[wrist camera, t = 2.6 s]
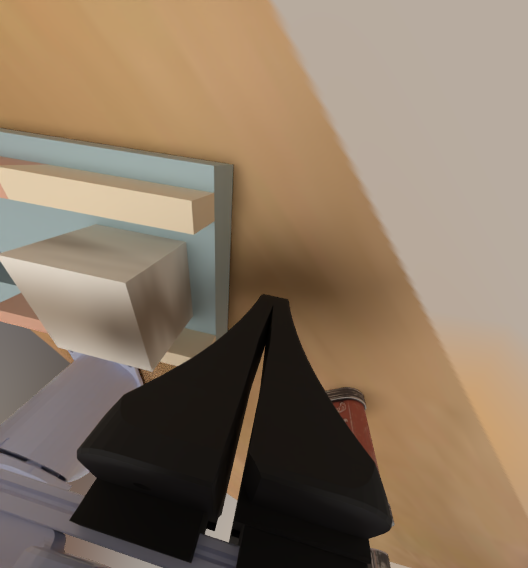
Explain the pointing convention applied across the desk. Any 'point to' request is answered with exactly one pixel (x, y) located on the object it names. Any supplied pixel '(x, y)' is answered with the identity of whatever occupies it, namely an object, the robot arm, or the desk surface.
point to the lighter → (354, 416)
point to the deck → (119, 216)
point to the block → (107, 292)
